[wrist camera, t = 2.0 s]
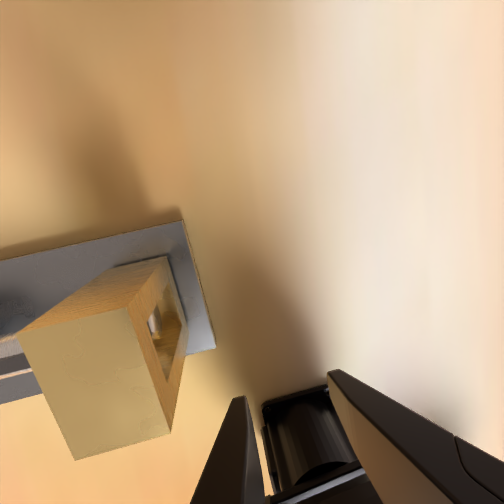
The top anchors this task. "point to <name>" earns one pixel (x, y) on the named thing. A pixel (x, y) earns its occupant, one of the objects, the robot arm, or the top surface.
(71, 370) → the tan notched block
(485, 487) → the robot arm
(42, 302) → the shaft stand
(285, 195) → the top surface
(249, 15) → the top surface
